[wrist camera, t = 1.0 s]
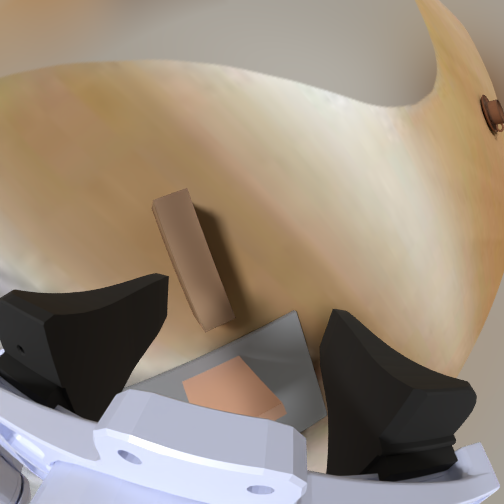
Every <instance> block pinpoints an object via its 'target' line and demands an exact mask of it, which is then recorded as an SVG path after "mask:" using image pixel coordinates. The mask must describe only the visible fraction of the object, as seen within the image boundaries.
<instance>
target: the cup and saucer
mask: <svg viewBox="0 0 504 504" xmlns="http://www.w3.org/2000/svg"><path fill="white" fill-rule="evenodd" d="M481 104H482V108H483V112H484V115H485V117H486V120H487V122H488V124H489V126H490V127H491V129H492V130H493V131H494V132H498V131H499V132H502V131H503V130H504V125H503V123H504V112H503V109H502V107H501V105H500V103H499V101H498V100H493V101H489V100H488V99H487V97H486V96H485V95H482V97H481ZM498 124H501V125H502V129H501V130H499V129H498Z"/></svg>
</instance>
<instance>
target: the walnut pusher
mask: <svg viewBox="0 0 504 504" xmlns="http://www.w3.org/2000/svg"><path fill="white" fill-rule="evenodd" d="M152 210H153V213H154V216H155V219H156V222H157V224H158V227H159V230H160V233H161V235H162V238H163V241H164V243H165V246H166V249H167V251H168V254H169V257H170V259H171V262H172V264H173V267H174V269H175V272H176V274H177V277H178V279H179V282H180V284H181V287H182V289H183V291H184V294H185V296H186V298H187V301H188V303H189V305H190V308H191V310H192V312H193V315H194V316H195V318H196V319H197V321H198V322H199V324H200V325H201V327H202V328H203V330H204V331H205V332H207V331H209V330H211V329H214V328H216V327H218V326H220V325H222V324H224V323H227V322H229V321H231V320H233V319H235V318H236V317H235V315H234V312H233V310H232V307H231V305H230V302H229V300H228V297H227V295H226V292H225V290H224V287H223V285H222V282H221V279H220V277H219V274H218V272H217V269H216V266H215V264H214V261H213V258H212V256H211V253H210V250H209V248H208V245H207V242H206V240H205V237H204V234H203V231H202V229H201V226H200V223H199V220H198V217H197V215H196V212H195V209H194V206H193V203H192V201H191V198H190V195H189V192H188V189H187V188H186V189H183V190H180V191H177V192H174V193H171V194H169V195H166V196H163V197H160V198H158V199H155V200H153V204H152Z"/></svg>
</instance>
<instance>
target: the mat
mask: <svg viewBox="0 0 504 504" xmlns="http://www.w3.org/2000/svg"><path fill="white" fill-rule="evenodd" d="M237 356H240V357H241V359H242V360H243V361H244V362H245V363H246V364H247V365H248V366H249V367H250V369H251V370H252V371H253V372H254V373H255V374H256V375H257V376H258V377H259V378H260V380H261V381H262V382H263V383H264V384H265V385H266V386H267V387H268V388H269V389H270V390H271V391H272V392H273V393H274V394H275V395H276V397H277V398H278V399H279V400H280V401H281V402H282V403H283V405H284V407H285V410H286V412H287V414H286V415H284V416H282V417H280V418H279V419H277V420H275V421H276V422H280V423H283V424H287V425H290V426H292V427H294V428H295V429H296V430H297V431H298V432H299V433H300V432H302V431H304V430H305V429H307V428H308V427H310V426H312V425H313V424H315V423H316V422H318V421H319V420H321V419H322V418H324V417H325V416H327V412H326V408H325V405H324V402H323V398H322V395H321V391H320V388H319V384H318V381H317V378H316V374H315V371H314V368H313V364H312V361H311V358H310V354H309V351H308V348H307V345H306V341H305V338H304V335H303V332H302V328H301V325H300V322H299V319H298V316H297V313H296V311H294V310H293V311H291V312H290V313H288V314H286V315H284V316H282V317H280V318H278V319H276V320H274V321H273V322H271V323H269V324H267V325H265V326H263V327H261V328H259V329H257V330H255V331H253V332H251V333H249V334H247V335H245V336H243V337H241V338H239V339H237V340H235V341H233V342H231V343H228V344H226V345H224V346H222V347H220V348H218V349H216V350H214V351H211V352H209V353H207V354H205V355H203V356H201V357H198V358H196V359H194V360H192V361H189V362H187V363H185V364H183V365H180V366H178V367H176V368H173V369H171V370H169V371H166V372H164V373H161V374H159V375H157V376H154V377H152V378H149V379H147V380H144V381H142V382H139V383H137V384H134V385H131V386H129V387H126V388H124V389H123V391H122V392H124V391H126V390H129V389H135V390H141V391H147V392H154V393H157V394H160V395H164V396H167V397H170V398H174V399H177V400H181V401H184V402H188V403H189V401H188V398H187V395H186V392H185V389H184V386H183V383H182V382H183V381H185V380H187V379H189V378H192V377H194V376H196V375H198V374H201V373H203V372H205V371H207V370H209V369H212V368H214V367H216V366H218V365H220V364H222V363H224V362H226V361H229V360H231V359H233V358H235V357H237Z"/></svg>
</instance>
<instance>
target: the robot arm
mask: <svg viewBox="0 0 504 504" xmlns="http://www.w3.org/2000/svg"><path fill="white" fill-rule="evenodd" d="M168 281H169V276H166V275H161V274H157V273H155V274H150V275H146V276H143V277H139V278H136V279H133V280H130V281H127V282H124V283H120V284H116V285H113V286H109V287H105V288H101V289H96V290H90V291H84V292H73V293H36V292H28V291H21V290H13V291H11V292H9V293H8V294H6V295H4V296H3V297H1V298H0V340H1V343H2V346H3V349H1V350H0V504H479V503H481V502H482V501H484V500H485V499H486V498H488V497H489V496H490V495H492V494H493V493H494V492H495V491H497V490H498V489H499V487H500V485H499V482H498V480H497V477H496V475H495V473H494V470H493V468H492V466H491V463H490V461H489V459H488V457H487V455H486V453H485V451H484V449H483V446H482V444H481V443H480V442H478V443H474V444H471V445H467V446H464V447H461V448H459V449H458V450H456V451H455V452H454V449H453V447H452V445H454V444H455V443H456V439H455V437H454V433H455V432H456V431H457V430H458V428H459V427H460V426H461V425H462V424H463V423H464V421H465V420H466V419H467V417H468V416H469V415H470V413H471V412H472V411H473V408H474V406H475V404H476V398H477V396H476V394H475V392H474V390H473V388H472V387H471V385H470V384H469V383H468V382H467V381H464V380H460V379H456V378H453V377H449V376H446V375H443V374H440V373H438V372H435V371H432V370H430V369H428V368H426V367H423V366H421V365H419V364H417V363H416V362H414V361H412V360H410V359H408V358H406V357H405V356H403V355H402V354H400V353H398V352H397V351H395V350H394V349H392V348H391V347H390V346H388V345H387V344H386V343H384V342H383V341H382V340H381V339H379V338H378V337H377V336H376V335H374V334H373V333H372V332H371V331H370V330H369V329H368V328H366V327H365V326H364V325H363V324H362V323H361V322H360V321H358V320H357V319H356V318H355V317H354V316H353V315H351V314H350V313H349V312H347V311H344V310H338V309H333V310H332V313H331V316H330V319H329V322H328V325H327V328H326V331H325V333H324V336H323V339H322V342H321V344H320V367H321V373H322V378H323V384H324V389H325V395H326V401H327V408H328V459H327V472H326V474H324V473H319V472H314V471H309V470H307V451H306V438H305V437H304V436H303V435H302V434H300V433H299V432H298V431H297V430H296V429H295V428H294V427H292V426H290V425H287V424H283V423H280V422H276V421H273V420H270V419H265V418H259V417H253V416H247V415H241V414H236V413H231V412H226V411H221V410H217V409H212V408H208V407H204V406H200V405H196V404H192V403H188V402H184V401H181V400H177V399H174V398H170V397H167V396H164V395H160V394H157V393H154V392H147V391H141V390H135V389H129V390H126V391H124V392H122V391H123V388H124V386H125V384H126V382H127V380H128V379H129V377H130V375H131V373H132V371H133V369H134V368H135V366H136V365H137V363H138V362H139V360H140V359H141V357H142V356H143V355H144V353H145V352H146V350H147V349H148V347H149V346H150V345H151V343H152V342H153V340H154V339H155V337H156V336H157V335H158V333H159V331H160V329H161V327H162V325H163V323H164V321H165V319H166V317H167V302H168ZM23 465H24V466H25V467H26V468H28V469H29V470H30V471H31V472H33V473H34V474H35V475H37V476H38V477H39V478H40V479H42V480H43V482H42V484H41V485H40V487H39V489H38V490H37V492H36V494H35V495H34V497H33V499H32V500H31V491H30V485H29V481H28V479H27V478H26V477H25V476H24V475H23V474H22V473H21V470H22V467H23ZM30 500H31V502H30Z"/></svg>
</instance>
